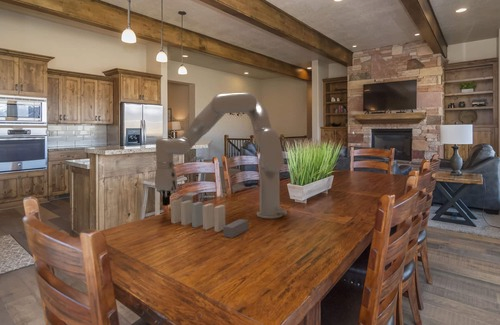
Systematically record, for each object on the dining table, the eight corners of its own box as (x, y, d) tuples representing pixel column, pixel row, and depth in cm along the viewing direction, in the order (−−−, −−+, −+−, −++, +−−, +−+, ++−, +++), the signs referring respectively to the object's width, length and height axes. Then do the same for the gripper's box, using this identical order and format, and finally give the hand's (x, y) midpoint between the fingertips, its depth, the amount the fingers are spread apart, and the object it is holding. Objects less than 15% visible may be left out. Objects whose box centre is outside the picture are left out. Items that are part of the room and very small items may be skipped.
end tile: (182, 220, 142) (181, 199, 141) (174, 223, 138) (174, 201, 137) (179, 220, 143) (178, 198, 142) (171, 222, 139) (170, 201, 138)
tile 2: (192, 222, 139) (191, 200, 138) (184, 225, 135) (184, 203, 134) (189, 222, 140) (188, 200, 139) (181, 224, 136) (180, 202, 135)
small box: (193, 217, 148) (192, 195, 146) (182, 217, 149) (181, 195, 148) (199, 213, 155) (198, 192, 154) (188, 212, 156) (188, 192, 155)
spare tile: (192, 226, 133) (191, 203, 132) (199, 223, 137) (199, 201, 136) (195, 227, 132) (195, 204, 131) (203, 224, 136) (202, 202, 135)
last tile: (225, 228, 130) (225, 205, 129) (218, 231, 126) (218, 207, 125) (221, 227, 131) (221, 204, 130) (214, 231, 127) (214, 207, 126)
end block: (248, 229, 129) (248, 220, 128) (232, 238, 119) (232, 227, 118) (239, 228, 131) (239, 218, 130) (223, 236, 120) (223, 226, 120)
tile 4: (213, 226, 133) (213, 203, 132) (206, 229, 129) (206, 206, 128) (210, 225, 134) (209, 203, 133) (202, 228, 130) (202, 205, 129)
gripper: (183, 165, 141) (184, 205, 143) (159, 164, 148) (160, 201, 150) (171, 167, 134) (172, 208, 136) (147, 165, 142) (148, 204, 144)
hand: (166, 205), depth 143 cm, fingers closed
